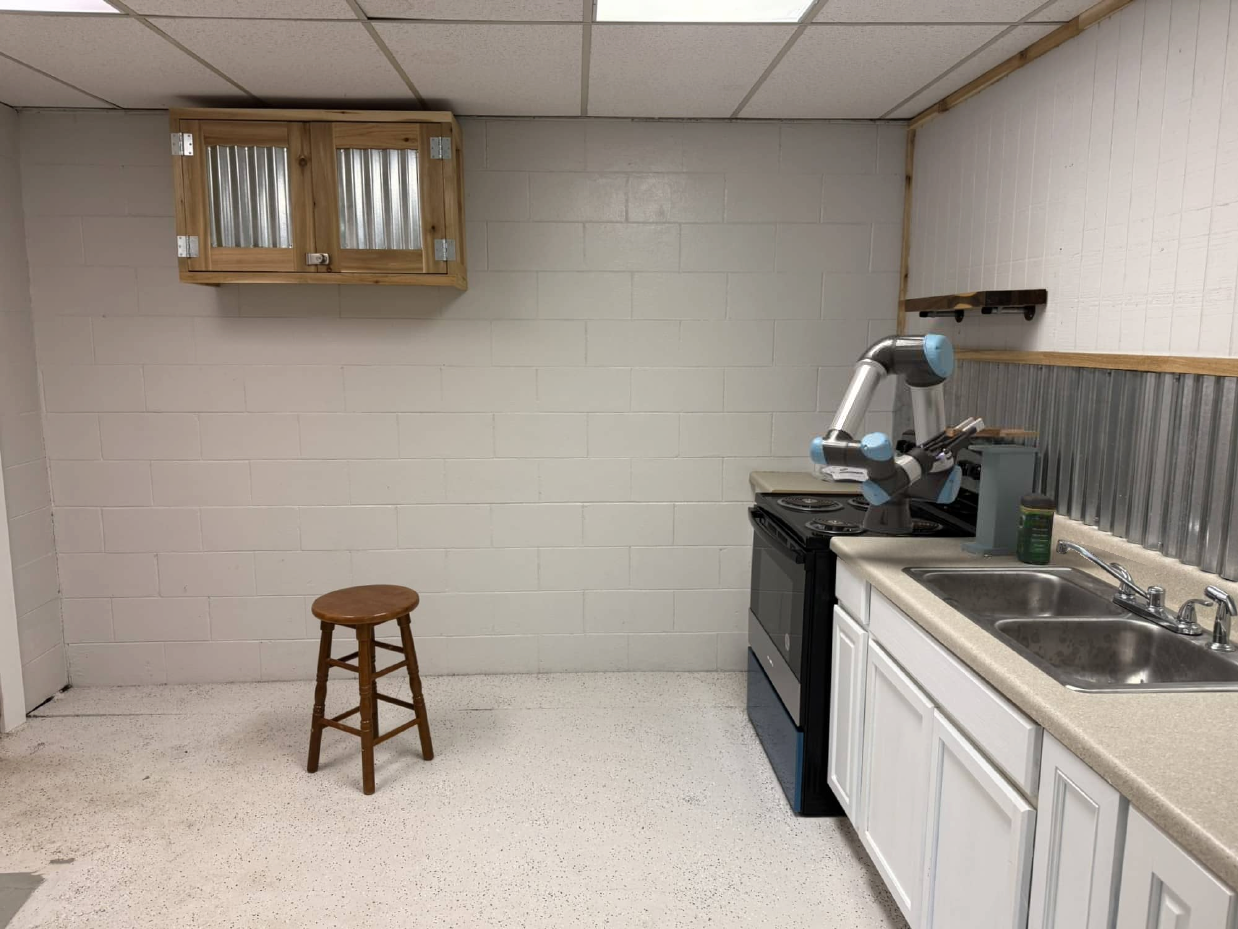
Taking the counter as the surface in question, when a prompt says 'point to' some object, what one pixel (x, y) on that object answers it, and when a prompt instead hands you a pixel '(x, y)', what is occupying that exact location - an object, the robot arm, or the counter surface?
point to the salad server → (993, 432)
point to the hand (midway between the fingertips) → (977, 422)
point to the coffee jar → (1035, 528)
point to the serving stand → (1001, 497)
